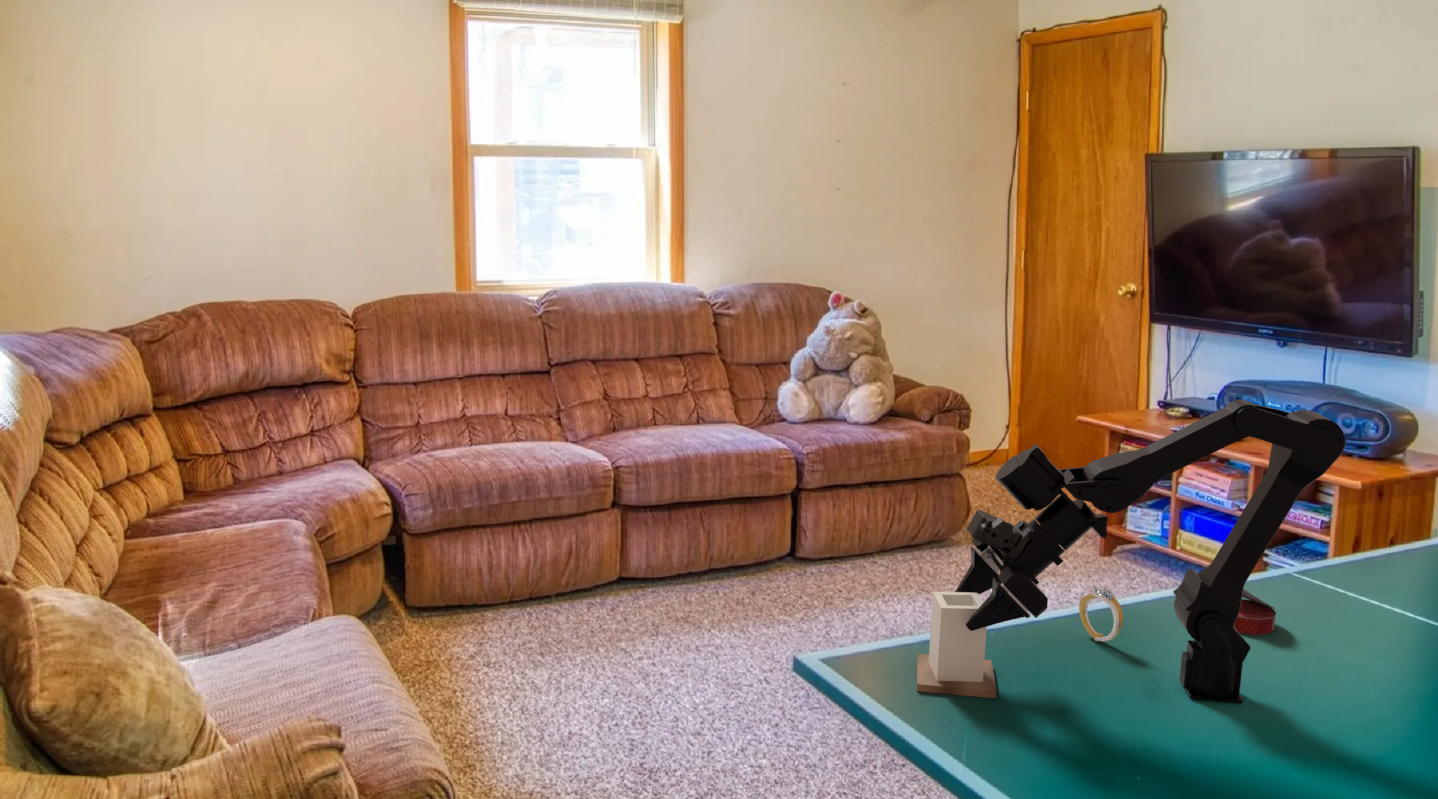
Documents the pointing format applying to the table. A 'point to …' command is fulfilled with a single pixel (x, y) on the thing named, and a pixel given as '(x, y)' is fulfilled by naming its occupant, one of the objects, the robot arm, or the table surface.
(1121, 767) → the table surface
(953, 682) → the post stand
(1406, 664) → the table surface
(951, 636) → the sleeve
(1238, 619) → the canned food
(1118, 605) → the ring
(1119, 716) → the table surface
